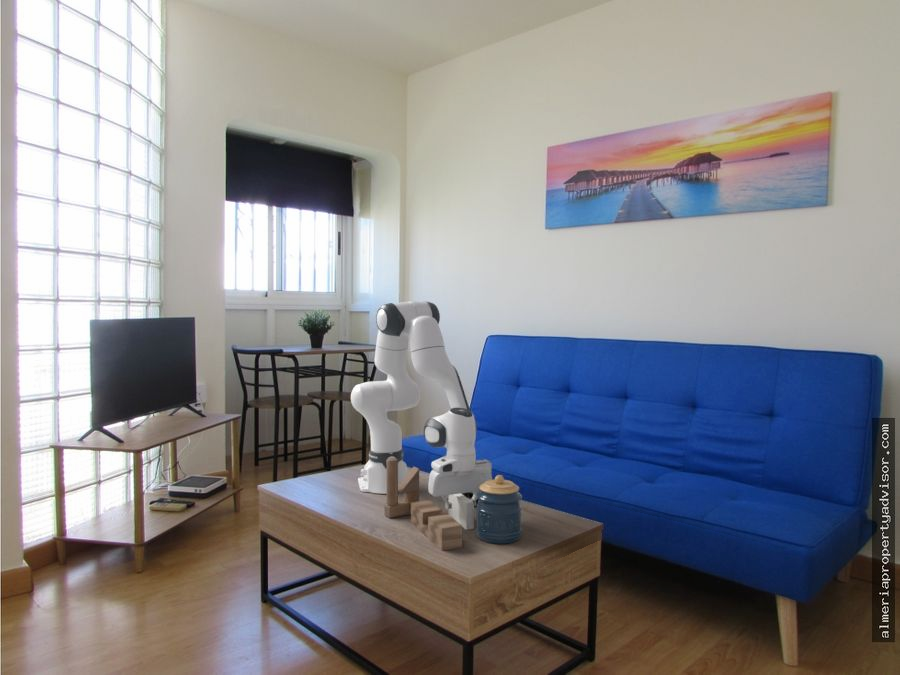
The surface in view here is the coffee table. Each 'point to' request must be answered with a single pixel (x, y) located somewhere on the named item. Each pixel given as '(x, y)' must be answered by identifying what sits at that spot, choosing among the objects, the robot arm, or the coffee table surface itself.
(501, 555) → the coffee table surface
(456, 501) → the white rectangular slab
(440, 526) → the walnut crossbar
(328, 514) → the coffee table surface
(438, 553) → the coffee table surface
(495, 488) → the canister
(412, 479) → the wooden block
